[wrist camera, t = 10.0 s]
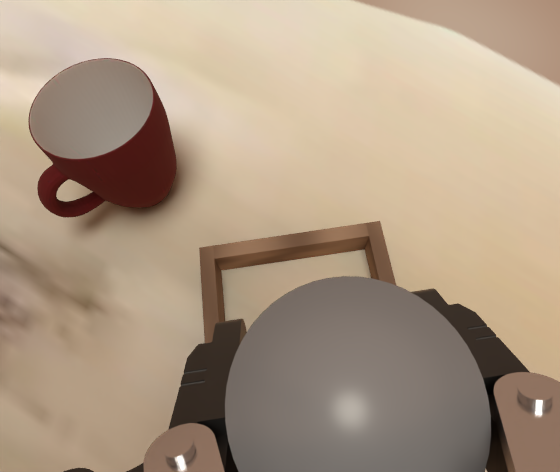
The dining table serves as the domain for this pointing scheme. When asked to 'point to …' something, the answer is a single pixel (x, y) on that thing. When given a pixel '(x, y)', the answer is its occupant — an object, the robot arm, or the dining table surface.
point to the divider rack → (283, 250)
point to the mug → (103, 137)
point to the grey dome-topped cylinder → (355, 385)
